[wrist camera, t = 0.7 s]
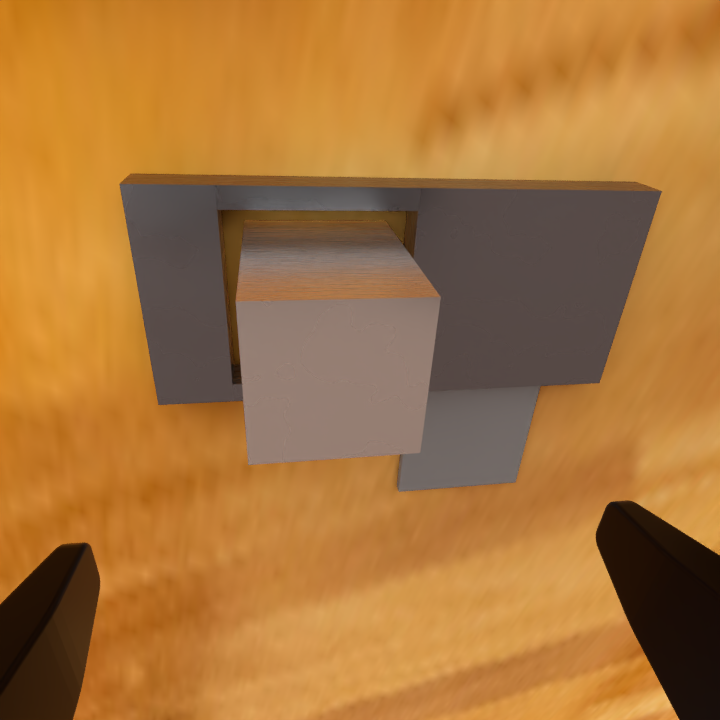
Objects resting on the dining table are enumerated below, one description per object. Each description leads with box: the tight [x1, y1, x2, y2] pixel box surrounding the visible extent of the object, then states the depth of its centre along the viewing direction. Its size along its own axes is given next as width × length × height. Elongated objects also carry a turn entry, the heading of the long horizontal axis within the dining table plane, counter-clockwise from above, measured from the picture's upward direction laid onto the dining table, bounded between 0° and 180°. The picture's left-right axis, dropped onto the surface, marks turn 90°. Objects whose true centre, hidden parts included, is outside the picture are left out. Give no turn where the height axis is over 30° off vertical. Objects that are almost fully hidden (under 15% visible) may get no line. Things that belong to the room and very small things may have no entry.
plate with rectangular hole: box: [120, 174, 662, 405], centre depth 20 cm, size 18×8×2 cm, turn 88°
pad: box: [397, 386, 540, 492], centre depth 25 cm, size 6×6×1 cm
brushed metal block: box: [236, 220, 441, 465], centre depth 17 cm, size 5×5×7 cm
